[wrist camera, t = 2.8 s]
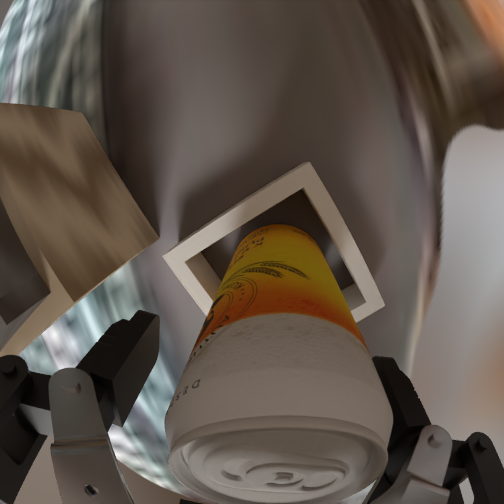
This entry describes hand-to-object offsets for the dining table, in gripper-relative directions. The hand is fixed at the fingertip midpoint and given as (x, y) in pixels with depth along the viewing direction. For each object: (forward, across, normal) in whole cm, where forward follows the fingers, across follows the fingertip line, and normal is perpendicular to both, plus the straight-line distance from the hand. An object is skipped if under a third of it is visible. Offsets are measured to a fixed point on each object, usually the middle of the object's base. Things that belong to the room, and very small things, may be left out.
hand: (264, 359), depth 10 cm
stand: (+10, +16, 0) cm, 19 cm away
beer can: (+10, -1, 0) cm, 10 cm away
